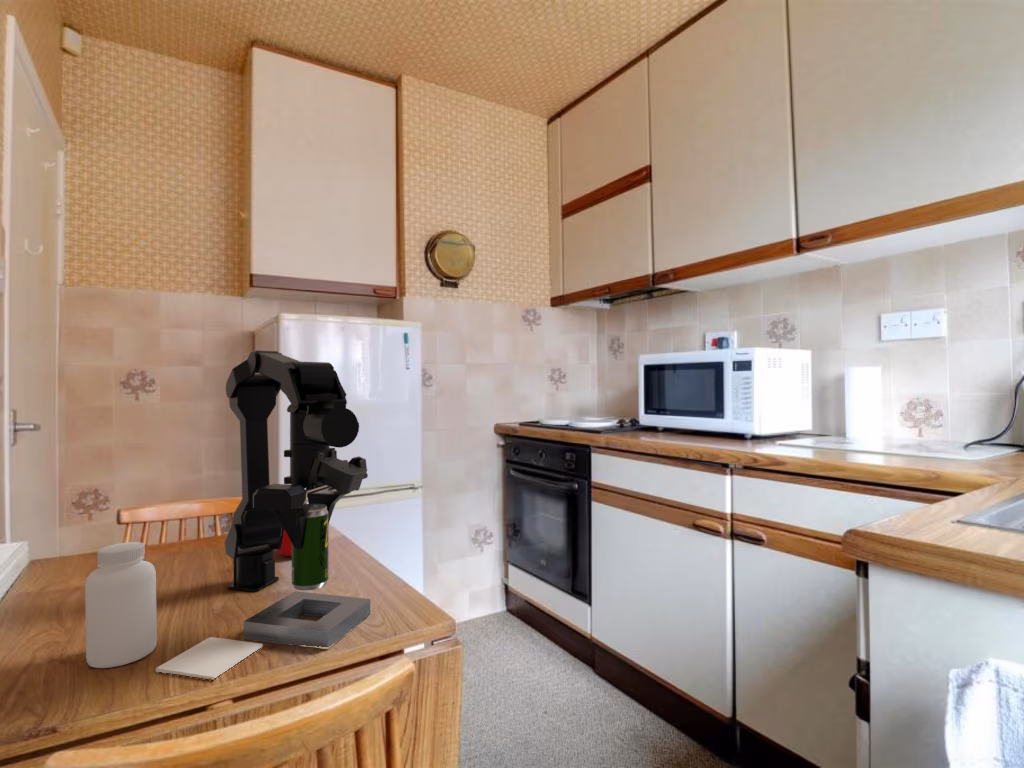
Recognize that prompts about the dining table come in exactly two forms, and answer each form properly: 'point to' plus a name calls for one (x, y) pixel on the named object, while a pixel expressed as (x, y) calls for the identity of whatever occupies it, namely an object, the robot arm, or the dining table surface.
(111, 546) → the pill bottle
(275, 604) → the frame
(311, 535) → the green silver-topped cylinder
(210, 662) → the tile
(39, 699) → the dining table surface
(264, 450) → the robot arm
